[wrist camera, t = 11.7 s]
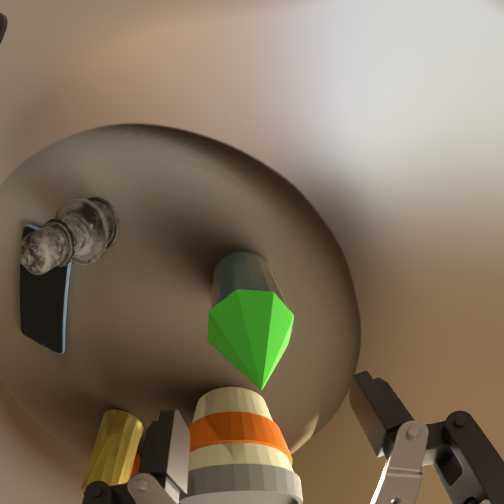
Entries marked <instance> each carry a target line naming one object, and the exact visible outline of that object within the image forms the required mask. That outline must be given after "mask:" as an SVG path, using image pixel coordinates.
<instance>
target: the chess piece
mask: <svg viewBox="0 0 504 504" xmlns="http://www.w3.org/2000/svg"><path fill="white" fill-rule="evenodd" d="M118 233H119V219H118V215H117V213H116V211H115V209H114V207H113V206H112V205H111V204H110V203H109V202H107V201H106V200H104V199H102V198H98V197H95V198H89V199H84V198H73V199H71V200H68V201H66V202H65V203H64V204H63V205H62V206H61V207H60V208H59V210H58V211H57V213H56V216H55V219H51V220H49V221H47V222H46V223H45V224H44V225H43V227H42V228H41V229H39V230H37V231H34V232H32V233H30V234H28V235H27V236H26V237H25V238H24V239H23V241H22V244H21V248H20V255H21V258H20V263H21V264H22V265H24V266H25V268H26V269H27V270H28V271H29V272H31V273H32V274H35V275H41V274H44V273H46V272H48V271H49V270H51V269H52V268H54V267H55V266H56V267H63V266H66V265H67V264H69V263H70V262H72V263H74V264H78V265H89V264H92V263H94V262H95V261H97V260H98V259H99V258H100V257H101V256H102V255H103V253H104V252H105V250H106V249H108V248H109V247H110V246H112V244H113V243H114V242H115V241H116V238H117V236H118Z"/></svg>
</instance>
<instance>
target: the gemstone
mask: <svg viewBox="0 0 504 504" xmlns="http://www.w3.org/2000/svg"><path fill="white" fill-rule="evenodd" d="M293 319H294V315H293V314H292V312H291V311H290V310H289V309H288V308H287V307H286V305H285V304H284V303H283V302H282V301H281V300H280V298H279V297H278V296H277V295H276V294H275V293H274V292H270V291H255V290H242V289H237V290H235V291H234V292H233V293H231V294H230V295H229V296H228V297H226V298H225V299H224V300H222V301H221V302H220V303H218V304H217V305H216V306H214V307H213V308H212V309H210V310H209V322H208V341H209V342H210V343H211V344H212V345H213V346H214V347H215V348H216V349H217V350H218V351H219V352H220V353H221V354H222V355H223V356H224V357H225V358H226V359H228V360H229V361H230V362H231V363H232V364H233V365H234V366H235V367H236V368H237V369H238V370H239V371H240V372H242V373H243V374H244V375H245V376H246V377H247V378H248V379H249V380H250V381H252V382H253V383H254V384H255V385H256V386H257V387H258V388H259V389H261V390H262V389H263V387H264V386H265V384H266V382H267V380H268V379H269V377H270V375H271V374H272V372H273V370H274V368H275V367H276V365H277V363H278V361H279V360H280V358H281V356H282V354H283V352H284V351H285V349H286V347H287V345H288V342H289V338H290V333H291V328H292V323H293Z"/></svg>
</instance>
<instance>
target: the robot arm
mask: <svg viewBox="0 0 504 504" xmlns="http://www.w3.org/2000/svg"><path fill="white" fill-rule="evenodd" d="M349 398H350V404H351V407H352V409H353V411H354V413H355V415H356V417H357V419H358V421H359V422H360V425H361V426H362V428H363V430H364V432H365V434H366V436H367V438H368V440H369V442H370V444H371V446H372V448H373V450H374V452H375V454H376V456H377V457H380V456H382V455H385V456H386V459H387V461H386V465H385V468H384V470H383V473H382V476H381V479H380V482H379V485H378V487H377V490H376V492H375V495H374V497H373V499H372V501H371V503H370V504H415V501H416V499H417V495H418V491H419V488H420V484H421V480H422V473H421V469H422V466H424V465H428V464H432V466H433V468H434V470H435V471H436V474H437V475H438V477H439V479H440V481H441V483H442V485H443V487H444V489H445V491H446V493H447V495H448V497H449V499H450V501H451V503H452V504H504V462H503V460H502V459H501V457H500V456H499V454H498V453H497V451H496V450H495V448H494V447H493V445H492V444H491V443H490V441H489V440H488V438H487V437H486V435H485V434H484V433H483V431H482V430H481V429H480V427H479V426H478V424H477V423H476V422H475V420H474V419H473V418H472V416H471V415H470V414H469V413H467V412H465V411H455V412H453V413H451V414H450V415H449V416H448V417H447V419H446V421H443V422H438V423H434V424H424V423H423V422H420V421H416V420H414V419H413V418H412V416H411V415H410V413H409V412H408V410H407V409H406V408H405V406H404V405H403V403H402V402H401V401H400V399H399V398H398V397H397V395H396V394H395V392H393V389H392V388H391V387H390V385H389V384H388V383H387V382H386V381H384V380H382V379H381V378H376V379H374V380H373V379H372V377H371V375H370V374H369V373H368V372H367V371H364V372H361V373H358V374H355V375H352V376H351V379H350V396H349ZM189 449H190V433H189V430H188V427H187V425H186V424H185V422H184V420H183V418H182V416H181V414H180V412H179V411H178V410H177V409H173V410H162V411H161V412H160V416H159V421H153V422H152V423H151V424H150V426H149V427H148V429H147V432H146V437H145V441H144V447H143V451H142V456H141V461H140V466H139V471H138V473H137V474H136V475H134V476H133V477H131V479H130V480H129V481H128V482H127V483H124V484H118V485H112V486H109V485H108V484H107V483H105V482H103V481H93V482H91V483H90V484H89V485H88V486H87V487H86V489H85V493H84V498H83V503H82V504H181V503H180V502H179V494H187V485H188V465H189Z"/></svg>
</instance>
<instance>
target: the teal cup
mask: <svg viewBox="0 0 504 504" xmlns="http://www.w3.org/2000/svg"><path fill="white" fill-rule="evenodd" d="M237 289H242V290H255V291H270V292H274V293H275V294H276V295H277V296H278V297H279V298H280V300H281V301H282V302H283V303H284V304H285V305H286V307H287V308H288V309H289V310H290V308H289V306H288V304H287V302H286V300H285V298H284V295H283V293H282V291H281V289H280V287H279V285H278V283H277V281H276V279H275V277H274V275H273V272H272V270H271V269H270V267H269V265H268V264H267V262H266V261H265V260H264V259H263V258H262V257H260V256H259V255H257V254H255V253H252V252H246V251H240V252H235V253H232V254H229V255H227V256H226V257H224V258H223V259H222V260H221V261H220V262H219V263H218V265H217V266H216V268H215V271H214V275H213V281H212V290H211V301H210V309H212V308H213V307H214V306H216V305H217V304H218V303H220V302H221V301H222V300H224V299H225V298H226V297H228V296H229V295H230V294H231V293H233V292H234V291H235V290H237ZM290 311H291V310H290ZM292 329H293V323H292V328H291V332H292ZM290 335H291V333H290Z"/></svg>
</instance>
